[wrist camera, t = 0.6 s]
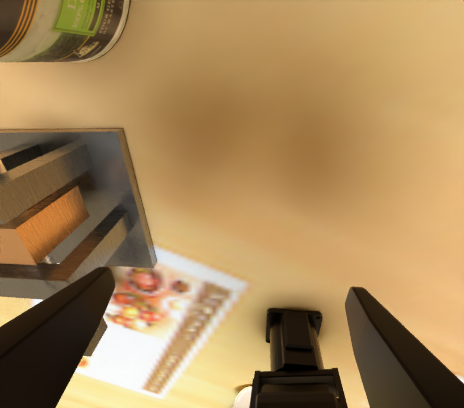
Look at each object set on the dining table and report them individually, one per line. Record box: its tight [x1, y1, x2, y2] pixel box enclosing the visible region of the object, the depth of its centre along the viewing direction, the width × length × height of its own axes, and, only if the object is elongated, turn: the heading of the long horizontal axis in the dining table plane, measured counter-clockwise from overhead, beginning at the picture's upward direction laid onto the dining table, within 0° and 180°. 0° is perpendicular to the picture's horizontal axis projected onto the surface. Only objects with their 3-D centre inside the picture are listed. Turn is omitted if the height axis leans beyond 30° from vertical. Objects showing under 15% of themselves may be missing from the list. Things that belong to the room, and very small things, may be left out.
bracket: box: [0, 128, 157, 299], centre depth 21 cm, size 15×12×10 cm
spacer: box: [0, 185, 90, 265], centre depth 19 cm, size 3×5×6 cm, turn 92°
